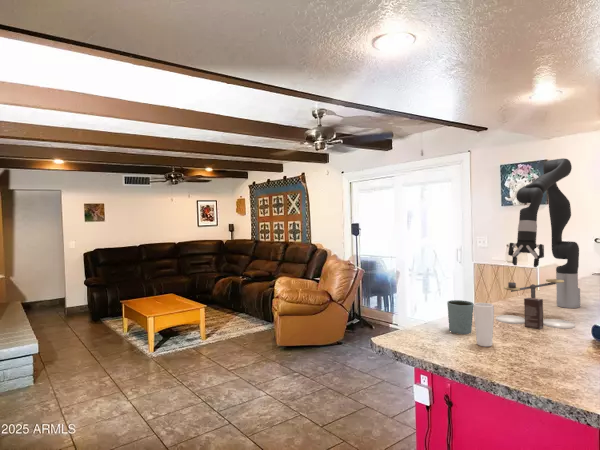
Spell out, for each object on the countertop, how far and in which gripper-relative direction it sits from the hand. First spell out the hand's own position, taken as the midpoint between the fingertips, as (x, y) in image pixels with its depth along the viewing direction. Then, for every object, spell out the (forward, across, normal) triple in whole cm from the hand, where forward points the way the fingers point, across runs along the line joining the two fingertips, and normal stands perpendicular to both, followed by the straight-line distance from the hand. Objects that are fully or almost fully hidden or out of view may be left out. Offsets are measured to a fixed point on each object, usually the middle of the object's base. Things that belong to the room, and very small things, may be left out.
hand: (524, 266), depth 182 cm
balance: (+23, -1, -11) cm, 25 cm away
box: (+26, -8, +10) cm, 28 cm away
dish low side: (+25, +3, +5) cm, 26 cm away
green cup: (+30, +10, +36) cm, 48 cm away
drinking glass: (+31, -4, +46) cm, 56 cm away
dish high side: (+24, -14, -1) cm, 28 cm away
